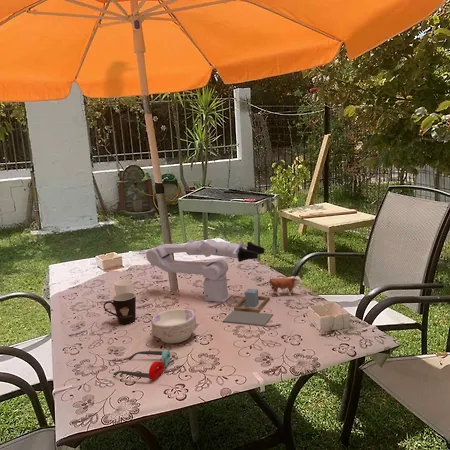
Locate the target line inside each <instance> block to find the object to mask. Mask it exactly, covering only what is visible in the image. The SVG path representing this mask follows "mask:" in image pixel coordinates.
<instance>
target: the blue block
mask: <svg viewBox="0 0 450 450" xmlns="http://www.w3.org/2000/svg"><path fill="white" fill-rule="evenodd" d="M258 296H259V289H257V288H254V289H253V288H248V289H247V290H245V291H244V297H245V301H246V302H245V308H257V306H259V305H260V303H259V302H260V301H259V299H258Z"/></svg>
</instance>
